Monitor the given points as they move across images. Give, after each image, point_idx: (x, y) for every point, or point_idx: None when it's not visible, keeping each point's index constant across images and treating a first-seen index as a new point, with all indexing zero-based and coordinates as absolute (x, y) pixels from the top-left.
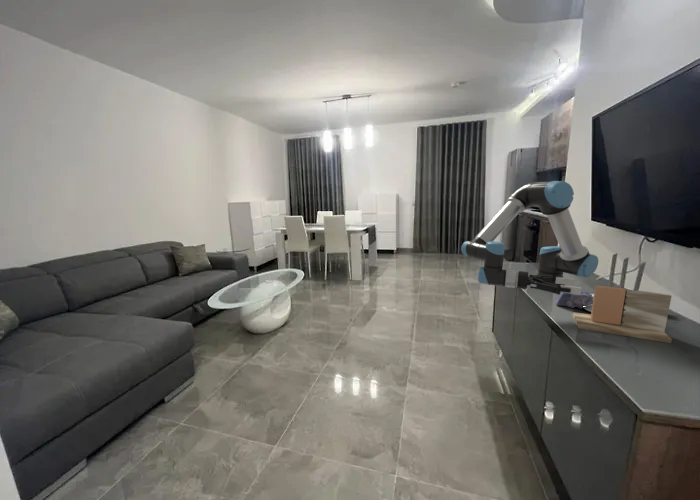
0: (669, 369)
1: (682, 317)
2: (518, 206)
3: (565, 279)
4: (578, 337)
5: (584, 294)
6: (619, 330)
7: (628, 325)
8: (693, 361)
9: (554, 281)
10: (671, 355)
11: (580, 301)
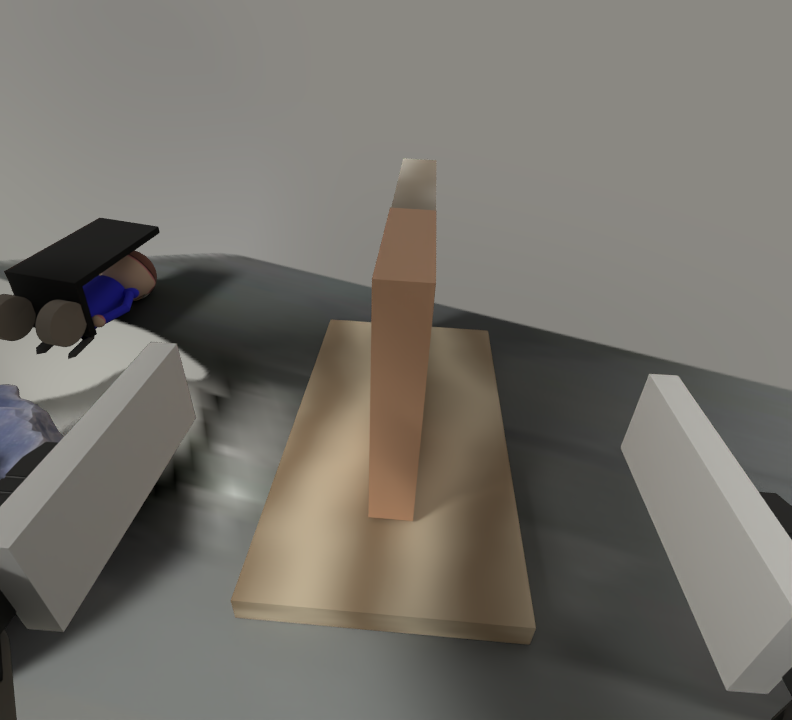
0: (774, 418)
1: (202, 260)
2: None
3: (119, 436)
4: (739, 696)
5: (21, 419)
6: (496, 439)
7: None
8: (620, 349)
9: (2, 631)
10: (615, 376)
11: None
